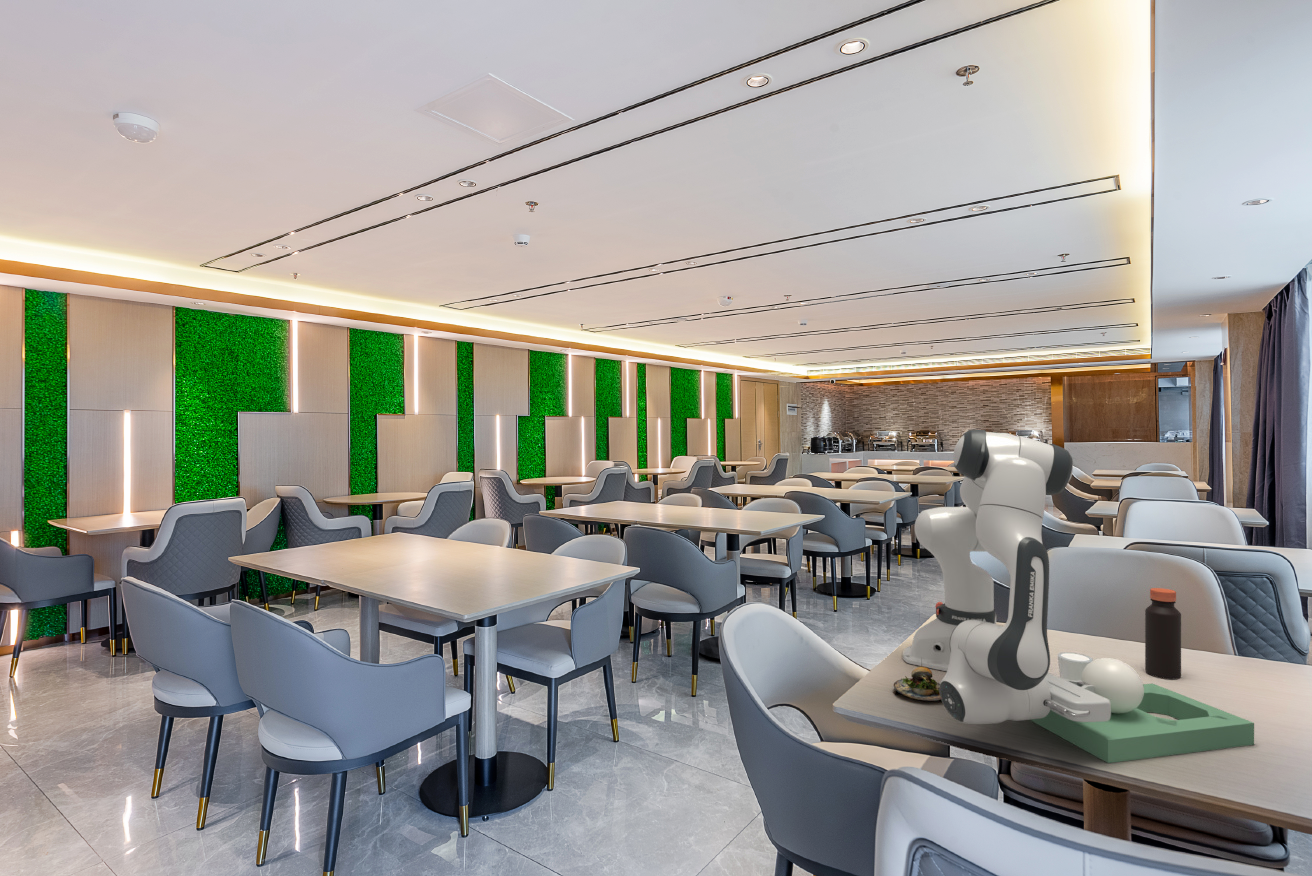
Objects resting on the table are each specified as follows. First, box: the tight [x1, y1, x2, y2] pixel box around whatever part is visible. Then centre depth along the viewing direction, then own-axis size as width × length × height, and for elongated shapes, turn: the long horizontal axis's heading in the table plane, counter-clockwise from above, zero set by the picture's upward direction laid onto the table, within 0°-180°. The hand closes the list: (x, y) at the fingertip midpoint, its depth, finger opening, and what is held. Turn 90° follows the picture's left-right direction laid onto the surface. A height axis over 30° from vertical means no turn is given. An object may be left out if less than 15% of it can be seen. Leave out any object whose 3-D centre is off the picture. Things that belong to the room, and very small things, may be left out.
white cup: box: [1057, 651, 1094, 681], centre depth 151 cm, size 7×7×7 cm
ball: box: [1081, 657, 1144, 714], centre depth 128 cm, size 10×10×10 cm
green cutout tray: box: [1030, 682, 1255, 764], centre depth 130 cm, size 32×20×4 cm, turn 102°
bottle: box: [1144, 587, 1182, 680], centre depth 159 cm, size 7×7×20 cm
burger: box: [892, 658, 941, 702], centre depth 147 cm, size 12×12×8 cm
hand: (1088, 687), depth 128 cm, fingers closed
